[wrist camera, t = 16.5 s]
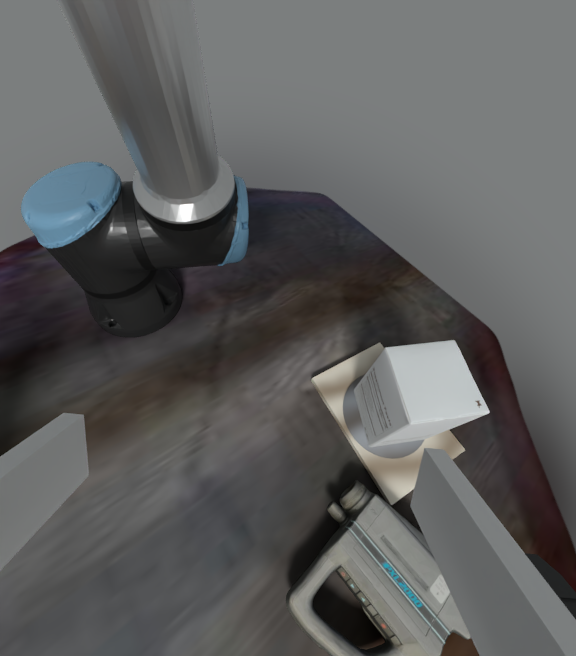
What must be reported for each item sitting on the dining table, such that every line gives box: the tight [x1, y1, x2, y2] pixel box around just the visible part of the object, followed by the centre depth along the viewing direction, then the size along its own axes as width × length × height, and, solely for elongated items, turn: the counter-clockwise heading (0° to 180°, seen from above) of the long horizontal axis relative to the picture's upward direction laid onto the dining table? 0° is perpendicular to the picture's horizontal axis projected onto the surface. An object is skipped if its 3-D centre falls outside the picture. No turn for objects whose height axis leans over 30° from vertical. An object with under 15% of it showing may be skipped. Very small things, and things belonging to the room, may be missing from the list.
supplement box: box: [354, 340, 490, 447], centre depth 38 cm, size 9×9×15 cm
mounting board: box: [311, 342, 465, 505], centre depth 45 cm, size 20×14×1 cm
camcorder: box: [286, 480, 471, 656], centre depth 33 cm, size 16×20×5 cm
